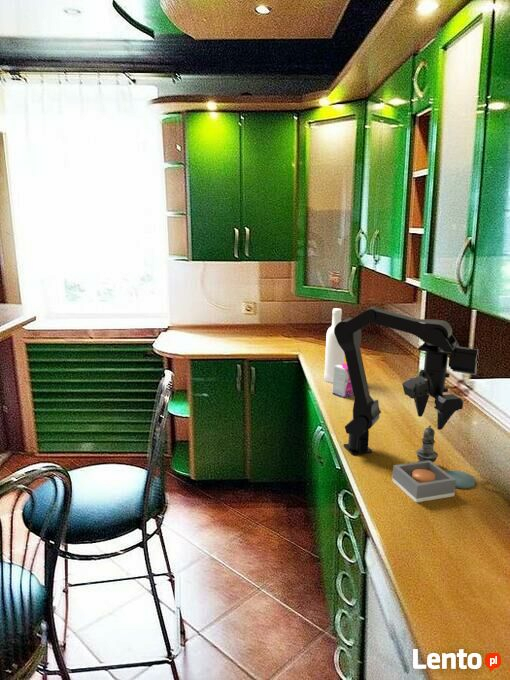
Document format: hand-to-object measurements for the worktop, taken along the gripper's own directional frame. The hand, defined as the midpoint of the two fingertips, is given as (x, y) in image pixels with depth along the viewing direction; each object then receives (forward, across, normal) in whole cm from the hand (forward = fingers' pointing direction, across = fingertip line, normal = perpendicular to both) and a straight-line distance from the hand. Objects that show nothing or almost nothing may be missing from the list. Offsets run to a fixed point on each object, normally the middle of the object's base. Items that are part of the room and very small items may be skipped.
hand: (429, 422), depth 147 cm
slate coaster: (+13, +9, +4) cm, 16 cm away
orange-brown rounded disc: (+10, +11, -8) cm, 17 cm away
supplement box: (+13, -60, +3) cm, 61 cm away
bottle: (+13, -77, +7) cm, 78 cm away
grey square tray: (+13, +11, -8) cm, 18 cm away
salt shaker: (+13, 0, +1) cm, 13 cm away
